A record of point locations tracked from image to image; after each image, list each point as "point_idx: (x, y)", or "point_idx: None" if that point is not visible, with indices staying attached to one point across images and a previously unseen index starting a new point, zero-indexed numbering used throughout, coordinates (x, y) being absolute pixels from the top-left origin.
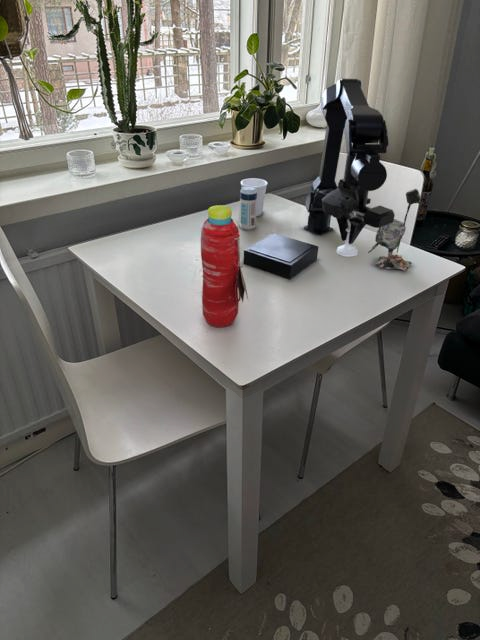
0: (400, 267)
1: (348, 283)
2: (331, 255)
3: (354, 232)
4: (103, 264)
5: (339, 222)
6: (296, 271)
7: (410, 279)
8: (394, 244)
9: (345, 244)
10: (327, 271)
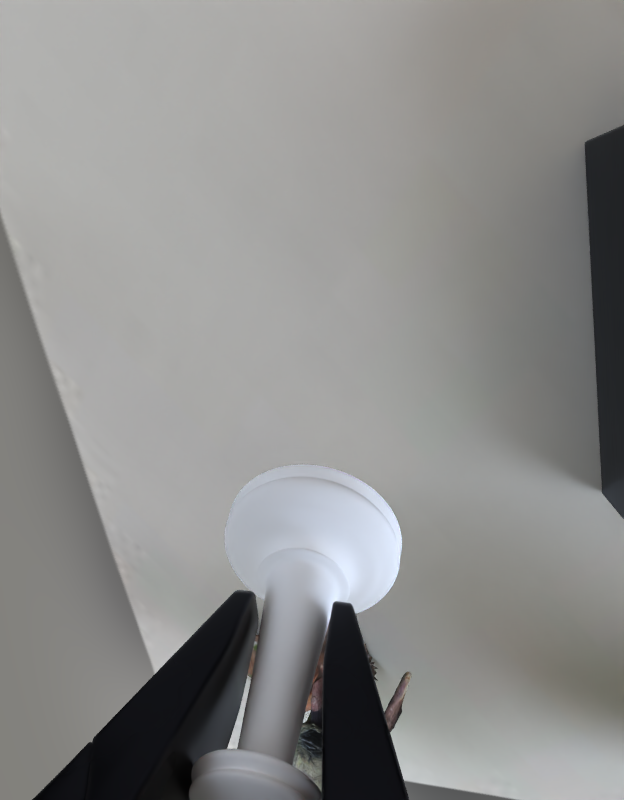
0: (253, 648)
1: (302, 418)
2: (566, 578)
3: (76, 764)
4: None
5: None
6: (604, 239)
7: (191, 607)
8: None
9: (305, 578)
10: (465, 436)
